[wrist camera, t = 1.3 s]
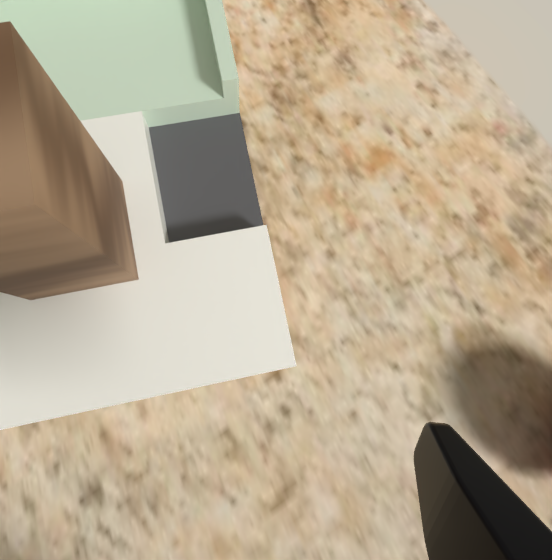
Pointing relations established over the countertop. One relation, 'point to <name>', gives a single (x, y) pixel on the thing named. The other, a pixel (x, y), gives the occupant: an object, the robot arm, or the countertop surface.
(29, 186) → the walnut block
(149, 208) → the box
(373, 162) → the countertop surface
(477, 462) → the robot arm
